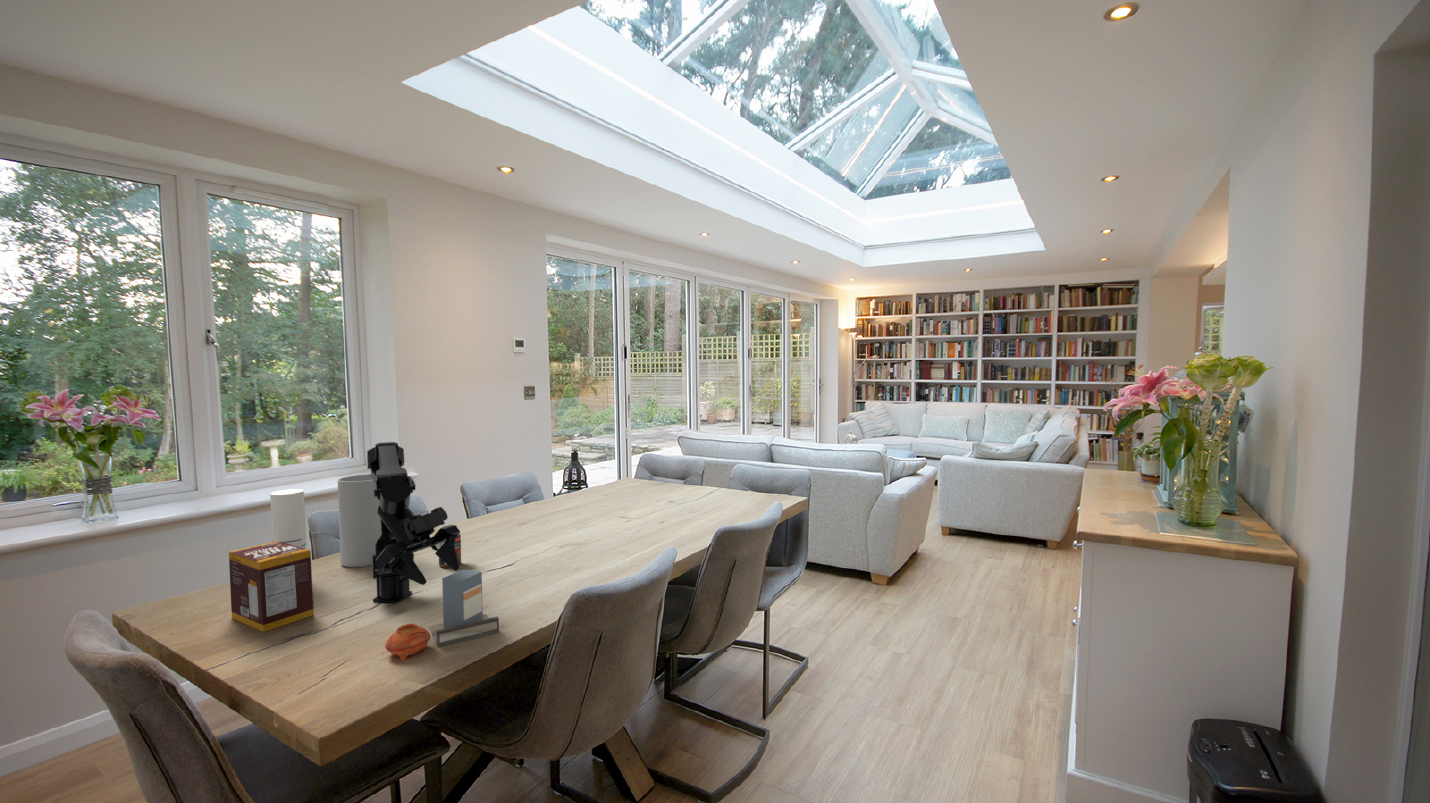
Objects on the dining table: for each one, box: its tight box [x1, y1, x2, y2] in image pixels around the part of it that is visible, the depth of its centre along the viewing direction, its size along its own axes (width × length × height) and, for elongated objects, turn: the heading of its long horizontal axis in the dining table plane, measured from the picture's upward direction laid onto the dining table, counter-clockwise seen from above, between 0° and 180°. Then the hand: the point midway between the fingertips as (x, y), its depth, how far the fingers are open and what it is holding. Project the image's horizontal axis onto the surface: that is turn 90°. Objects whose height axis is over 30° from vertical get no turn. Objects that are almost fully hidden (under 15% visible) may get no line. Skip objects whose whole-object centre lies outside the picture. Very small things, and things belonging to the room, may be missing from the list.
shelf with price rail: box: [428, 613, 500, 648], centre depth 129 cm, size 11×12×4 cm
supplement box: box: [228, 541, 315, 633], centre depth 138 cm, size 10×15×16 cm
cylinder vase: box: [337, 473, 381, 568], centre depth 177 cm, size 12×12×25 cm
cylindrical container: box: [269, 488, 307, 549], centre depth 157 cm, size 7×7×25 cm
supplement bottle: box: [438, 524, 462, 569], centre depth 174 cm, size 6×6×11 cm
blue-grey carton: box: [441, 569, 484, 628], centre depth 128 cm, size 5×6×12 cm
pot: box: [384, 623, 431, 661], centre depth 119 cm, size 8×8×7 cm
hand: (441, 576), depth 129 cm, fingers open, 9 cm apart
